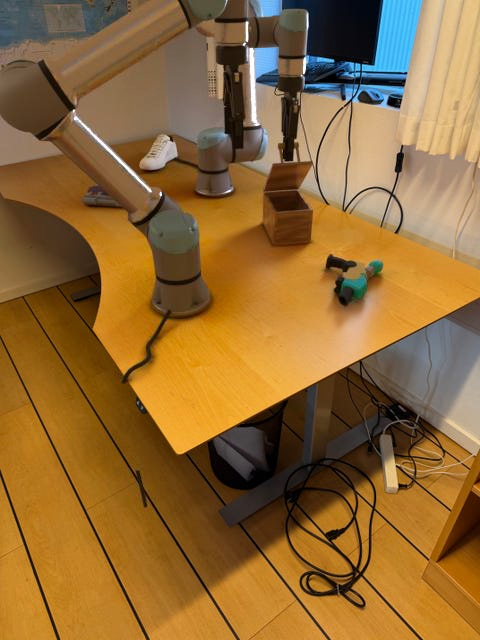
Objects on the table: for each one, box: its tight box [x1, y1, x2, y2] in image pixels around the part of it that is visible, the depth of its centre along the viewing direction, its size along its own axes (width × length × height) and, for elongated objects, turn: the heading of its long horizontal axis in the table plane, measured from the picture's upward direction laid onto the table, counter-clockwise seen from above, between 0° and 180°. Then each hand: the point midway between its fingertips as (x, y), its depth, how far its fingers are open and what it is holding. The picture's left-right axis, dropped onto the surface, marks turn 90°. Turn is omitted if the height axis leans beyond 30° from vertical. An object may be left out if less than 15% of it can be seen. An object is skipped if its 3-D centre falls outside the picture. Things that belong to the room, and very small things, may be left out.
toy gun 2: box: [325, 253, 385, 307], centre depth 130 cm, size 4×26×15 cm
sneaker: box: [139, 133, 179, 171], centre depth 214 cm, size 10×29×12 cm, turn 163°
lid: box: [262, 141, 314, 193], centre depth 150 cm, size 18×12×8 cm
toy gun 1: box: [81, 184, 122, 208], centre depth 181 cm, size 4×19×15 cm
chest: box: [262, 189, 314, 247], centre depth 156 cm, size 18×12×11 cm
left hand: (233, 140), depth 120 cm, fingers open, 13 cm apart
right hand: (287, 159), depth 146 cm, fingers closed on lid, 2 cm apart
